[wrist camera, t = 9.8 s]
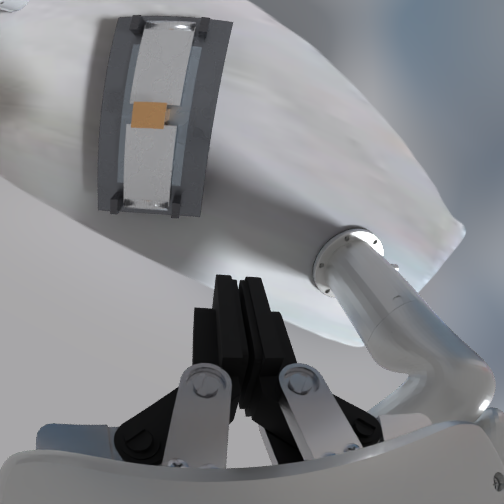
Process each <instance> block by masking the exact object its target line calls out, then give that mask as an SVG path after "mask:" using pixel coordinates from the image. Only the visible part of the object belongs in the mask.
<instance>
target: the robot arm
mask: <svg viewBox="0 0 504 504" xmlns="http://www.w3.org/2000/svg"><path fill="white" fill-rule="evenodd" d="M383 256H384V253H383V247H382V244H381V242H380V240H379V239H378V238H377V237H376V236H375V235H374V234H373V233H371V232H370V231H367V230H365V229H351V230H347V231H344V232H342V233H340V234H338V235H336V236H335V237H333V238H332V239H331V240H330V241H329V242H327V243H326V244H325V246H324V247H323V248H322V249H321V251H320V252H319V254H318V256H317V258H316V260H315V263H314V268H313V277H314V281H315V283H316V285H317V287H318V289H319V290H320V291H321V292H322V293H323V294H324V295H327V296H329V297H333V298H336V299H337V300H338V302H339V303H340V305H341V307H342V308H343V310H344V311H345V313H346V315H347V316H348V318H349V319H350V321H351V323H352V324H353V326H354V328H355V329H356V331H357V333H358V334H359V336H360V338H361V339H362V341H363V343H364V344H365V346H366V348H367V349H368V351H369V353H370V354H371V356H372V358H373V359H374V360H375V362H376V363H377V364H378V365H379V366H381V367H382V368H384V369H386V370H389V371H393V372H398V373H405V374H409V377H408V379H407V380H406V381H405V382H404V383H403V384H402V385H401V386H399V388H398V389H396V390H395V391H394V392H393V393H391V394H390V395H389V396H387V397H386V398H385V399H383V400H382V401H381V402H379V403H378V404H377V405H375V406H374V407H373V408H371V409H370V410H369V411H367V412H365V411H364V410H362V409H360V408H358V407H356V406H354V405H352V404H350V403H348V402H346V401H345V400H343V399H341V398H339V397H337V396H335V395H333V394H332V392H331V391H330V389H329V387H328V386H327V384H326V382H325V380H324V379H323V377H322V375H321V374H320V373H319V372H318V371H317V370H316V369H315V368H313V367H311V366H309V365H307V364H302V363H297V361H296V358H295V355H294V352H293V349H292V346H291V343H290V340H289V337H288V334H287V331H286V328H285V325H284V322H283V319H282V316H281V314H280V312H271V310H270V307H269V303H268V300H267V296H266V293H265V290H264V286H263V283H262V279H261V278H259V277H246V278H245V280H240V283H239V288H238V286H237V280H233V279H232V278H231V276H230V275H216V280H215V289H214V297H213V306H212V309H208V308H195V309H194V327H193V359H192V362H193V363H192V366H190V367H188V368H187V369H186V370H185V371H184V372H183V374H182V376H181V380H180V384H179V387H178V388H176V389H175V390H173V391H172V392H170V393H169V394H167V395H166V396H164V397H163V398H161V399H160V400H159V401H157V402H156V403H154V404H153V405H151V406H149V407H148V408H146V409H145V410H144V411H142V412H141V413H139V414H137V415H136V416H134V417H133V418H131V419H129V420H128V421H126V422H125V423H123V424H122V425H121V426H120V427H108V426H107V425H72V424H55V423H53V424H46V425H45V426H43V427H41V428H40V430H39V431H38V433H37V437H36V450H32V451H24V452H19V453H16V454H14V455H12V456H10V457H9V458H8V459H7V460H6V461H5V462H4V464H3V466H2V468H1V470H0V504H504V413H503V412H502V411H501V410H499V409H497V408H493V407H490V408H487V407H488V406H489V404H490V403H491V400H492V398H493V396H494V393H495V378H494V375H493V372H492V370H491V369H490V367H489V366H488V364H487V363H486V362H485V361H484V360H483V359H482V358H481V357H480V356H479V355H478V354H477V353H476V352H475V351H473V350H472V349H471V348H470V347H469V346H468V345H467V344H466V343H464V342H463V341H462V340H461V339H460V338H459V337H458V336H457V335H456V334H455V333H454V332H453V331H452V330H451V329H450V328H449V327H448V326H447V325H446V324H445V323H444V322H443V321H442V319H441V318H440V317H439V316H438V315H437V314H436V313H435V312H434V311H433V309H432V308H431V307H430V306H429V305H428V304H427V303H426V302H425V300H424V299H423V298H422V297H421V296H420V295H419V294H418V293H417V292H416V291H415V289H414V288H413V287H412V286H411V285H410V284H409V283H408V282H407V281H406V280H405V279H404V278H403V277H402V276H401V275H400V273H399V272H398V265H397V264H390V263H389V262H388V261H387V260H386V259H385V258H384V257H383ZM238 402H239V407H240V409H245V414H246V416H248V417H249V416H252V420H253V421H255V422H256V423H258V424H259V431H260V433H261V436H262V439H263V441H264V444H265V446H266V449H267V452H268V454H269V457H270V460H271V462H272V466H262V467H249V468H231V469H230V468H229V469H226V459H227V445H228V444H227V443H228V430H229V424H230V423H231V422H232V421H233V419H234V416H235V413H236V409H237V405H238Z"/></svg>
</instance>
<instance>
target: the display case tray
mask: <svg viewBox="0 0 504 504" xmlns="http://www.w3.org/2000/svg"><path fill="white" fill-rule="evenodd" d="M147 21H184V22H196V26H195V27H196V30H195V34H194V38H193V43H192V47H191V52H190V56H189V61H188V66H187V71H186V76H185V82H184V87H183V93H182V99H181V105H180V106H176V105H167V104H168V103H160V102H134V104H130V97H131V91H132V85H133V79H134V73H135V68H136V63H137V58H138V53H139V49H140V44H141V40H142V36H143V32H144V28H145V25H146V22H147ZM232 25H233V22H228V21H221V20H212V19H210V18H206V17H202V18H191V17H172V16H141V15H133V17H120V18H119V19H118V22H117V26H116V30H115V34H114V39H113V43H112V47H111V52H110V57H109V62H108V68H107V74H106V80H105V86H104V94H103V102H102V110H101V121H100V133H99V150H98V210H104V211H110V214H118V213H119V211H122V212H139V213H154V214H168V215H171V218H179V215H182V216H195V217H200V213H201V205H202V196H203V188H204V181H205V173H206V166H207V159H208V152H209V146H210V139H211V133H212V127H213V121H214V115H215V109H216V103H217V98H218V92H219V87H220V82H221V76H222V71H223V66H224V62H225V57H226V52H227V47H228V43H229V38H230V34H231V30H232ZM127 123H131V128H152V129H164V125H177V131H176V139H175V148H174V157H173V167H172V178H171V190H170V203H169V206H168V211H165V210H151V209H135V208H124V155H125V138H126V125H127Z"/></svg>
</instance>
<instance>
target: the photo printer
mask: <svg viewBox="0 0 504 504" xmlns="http://www.w3.org/2000/svg"><path fill="white" fill-rule="evenodd" d="M28 2H29V0H0V9H1V10H5V11H8V12H13V11H17V10H20V9H21V8H23V7H24V6H25V5H26V4H27V3H28Z"/></svg>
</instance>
